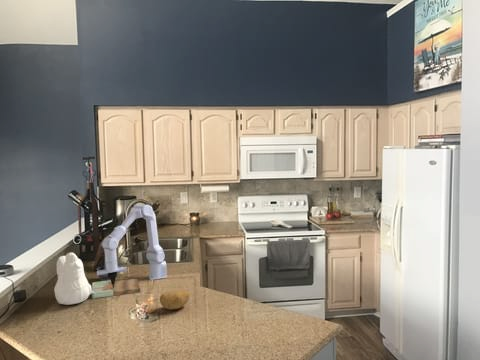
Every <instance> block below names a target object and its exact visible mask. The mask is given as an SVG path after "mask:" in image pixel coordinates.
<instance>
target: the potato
mask: <svg viewBox="0 0 480 360" xmlns="http://www.w3.org/2000/svg"><path fill="white" fill-rule="evenodd" d="M190 297H191V294H190V292H189V291H187V290H186V289H181V290H179V289H178V290H173V291H172V290H171V291H169V292H163V293H162V294H161V295H160V296H159V302H160V305H161V306H162V307H163V308H165V309H167V310H170V311H171V310H172V311H174V309H175V310H179V309H180V308H183V306H185V305H186V304H187V303H188V302H189V300H190Z"/></svg>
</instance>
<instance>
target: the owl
mask: <svg viewBox="0 0 480 360" xmlns="http://www.w3.org/2000/svg"><path fill="white" fill-rule="evenodd" d="M109 235H110V234H108V235H107V236H105V237H104V238H103V239H102V240H101V242H100V243H99V246H98V247H97V252H96V255H95V258H94V263H93V267H92V268H93V270H97V268H99V267H102V266H104V262H105V259H104V258H105V251H104V248H103V247H102V243H103V240H104V239H105V238H108V236H109Z"/></svg>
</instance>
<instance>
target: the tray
mask: <svg viewBox="0 0 480 360" xmlns="http://www.w3.org/2000/svg"><path fill="white" fill-rule="evenodd" d="M109 281H111V280H108V281H101V280H100V281H95V282H92V285H91V289H92V293H91V300H96V299H103V298H109V297H115V296H114V295H113V287H112V288H111V289H109V290H107V291H104V290H103V291H100V292H94V287H96V286H103V287H104V286H105V285H106V284H107V283H108V282H109Z"/></svg>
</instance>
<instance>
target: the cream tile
mask: <svg viewBox="0 0 480 360" xmlns="http://www.w3.org/2000/svg"><path fill="white" fill-rule="evenodd" d="M100 291H103V286H96V287H94V292H100Z"/></svg>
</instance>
